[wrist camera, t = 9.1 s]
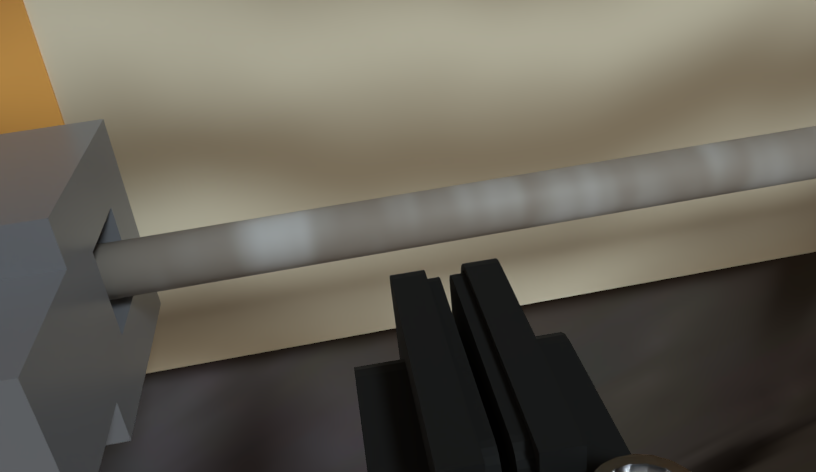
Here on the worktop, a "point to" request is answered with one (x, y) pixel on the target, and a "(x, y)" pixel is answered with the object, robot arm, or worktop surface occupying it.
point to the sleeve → (65, 303)
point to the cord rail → (421, 148)
